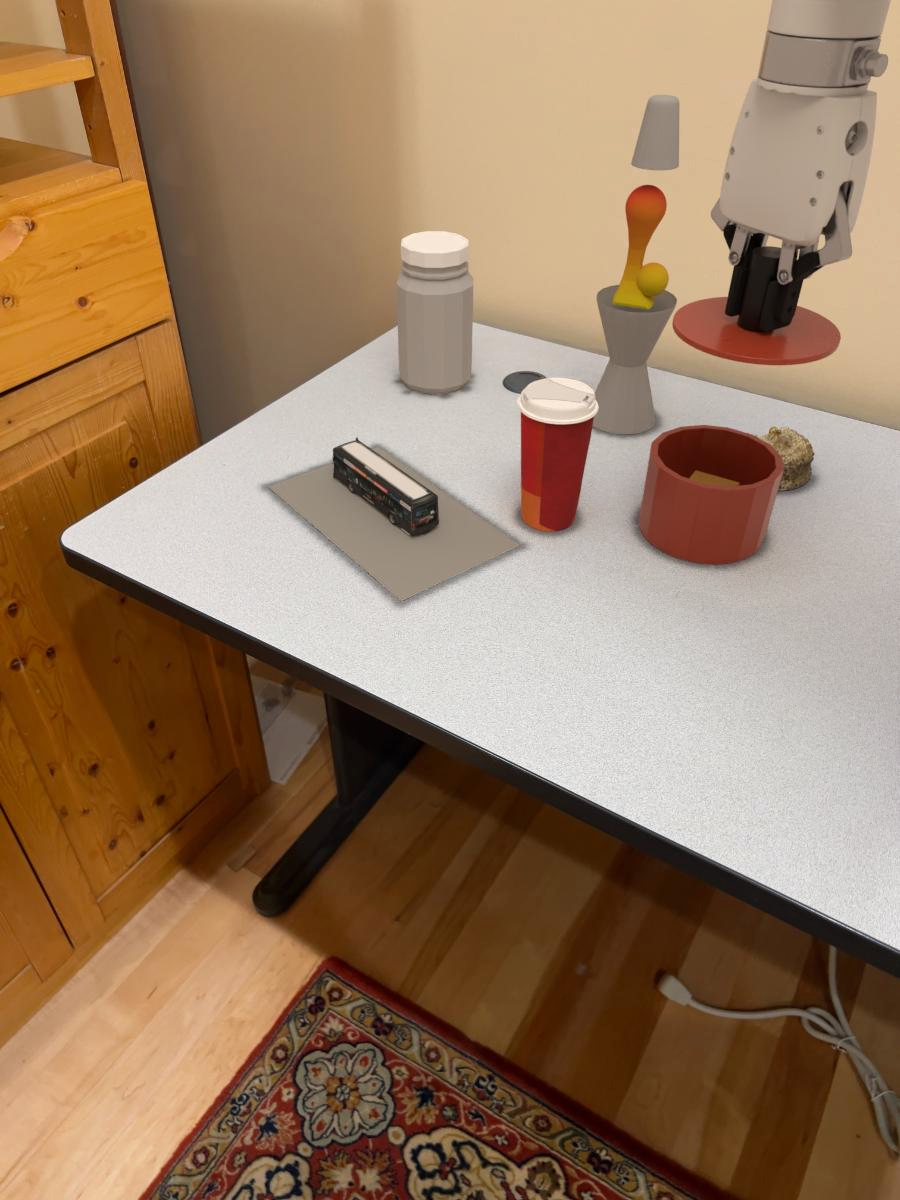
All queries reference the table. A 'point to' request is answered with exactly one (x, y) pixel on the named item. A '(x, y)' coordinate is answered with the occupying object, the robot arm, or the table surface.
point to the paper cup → (554, 449)
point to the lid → (756, 324)
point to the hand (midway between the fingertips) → (757, 318)
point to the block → (712, 479)
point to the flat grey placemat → (391, 519)
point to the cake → (791, 456)
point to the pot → (709, 494)
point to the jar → (435, 312)
